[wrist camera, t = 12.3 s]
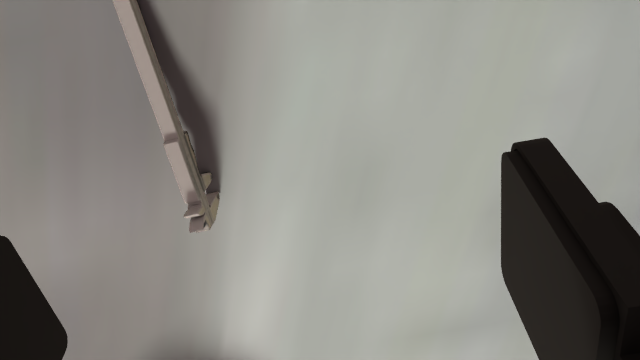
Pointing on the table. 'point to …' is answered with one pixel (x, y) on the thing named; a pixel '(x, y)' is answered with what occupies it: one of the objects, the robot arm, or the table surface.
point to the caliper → (168, 121)
